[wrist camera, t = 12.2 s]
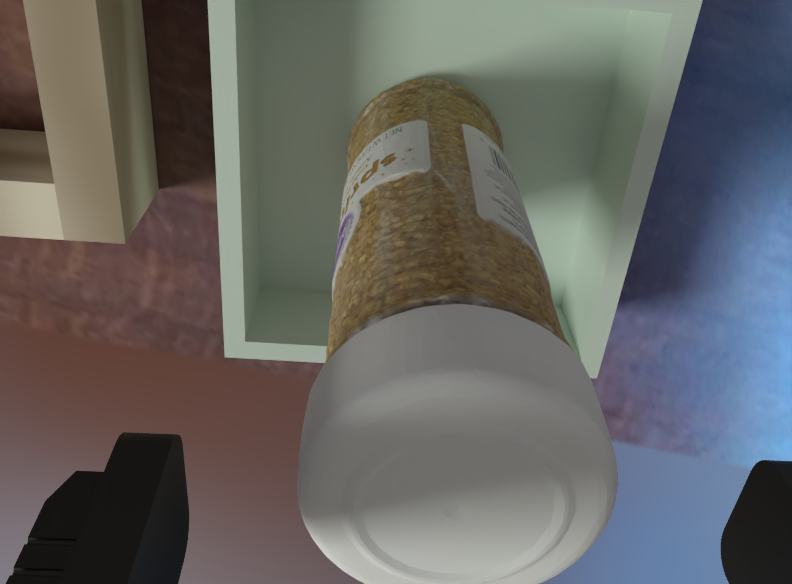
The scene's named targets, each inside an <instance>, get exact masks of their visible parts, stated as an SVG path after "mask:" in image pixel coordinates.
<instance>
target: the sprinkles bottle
mask: <svg viewBox="0 0 792 584" xmlns="http://www.w3.org/2000/svg"><path fill="white" fill-rule="evenodd" d="M503 151H504V148H503V143H502V135H501V131H500V128H499V125H498V123H497V121H496V120H495V118H494V117H493V115H492V113H491V112H490V110H489V109H488V107H487V106H486V105H485V104H484V102H483V101H481V100H480V99H479V98H477V97H476V96H475V95H474V94H472V93H471V92H469V91H468V90H467V89H466V88H464V87H462V86H458V85H455V84H453V83H451V82H447V81H444V80H442V79H437V78H422V79H414V80H409V81H405V82H402V83H401V84H399V85H395V86H393V87H391V88H389V89H387V90H384V91H383V92H381V93H380V94H379V95H378V96H376V97H375V98H373V99H372V100H371V101H370V102H369V104H368V105H367V106H366V107H365V108H364V109H363V110H362V112H361V113H360V115H359V117H358V118H357V120H356V122H355V123H354V126H353V128H352V130H351V131H350V134H349V138H348V146H347V151H346V159H347V168H348V177H347V180H346V183H345V187H344V192H343V199H342V208H341V217H340V226H339V234H338V242H337V251H336V259H335V266H334V274H333V281H332V300H333V304H332V313H331V318H330V322H329V336H328V345H327V349H326V361H325V365H324V366H323V367H322V369H321V371H320V373H319V374H318V376H317V378H316V380H315V382H314V384H313V386H312V389H311V392H310V395H309V399H308V403H307V408H306V413H305V419H304V426H303V431H302V439H301V447H300V455H299V464H298V475H297V493H298V502H299V507H300V512H301V515H302V518H303V521H304V523H305V526H306V528H307V530H308V531H309V533H310V535H311V537H312V538H313V540H314V541H315V543H316V544H317V545H318V547H319V548H320V549H321V550H322V552H323V553H324V554H325V555H326V556H327V557H328V558H329V559H330V560H331V561H332V562H333V563H334V564H336V565H337V566H338V567H339V568H340V569H342V570H343V571H344V572H346V573H347V574H349V575H351V576H352V577H354V578H355V579H357V580H359V581H361V582H363V583H365V584H540V583H542V582H544V581H547V580H548V579H550V578H552V577H554V576H555V575H558V574H559V573H561V572H562V571H563V570H565V569H566V568H568V567H569V566H570V565H572V564H573V563H574V562H576V561H577V560H578V559H579V558H580V557H581V556H582V555H583V554H584V553H585V552H586V551H588V549H589V548H590V547H591V546H592V544H593V543H594V542H595V541H596V540H597V538H598V537H599V536H600V534H601V533H602V531H603V530H604V528H605V526H606V525H607V523H608V520H609V518H610V516H611V514H612V510H613V507H614V504H615V500H616V493H617V485H618V481H617V479H618V473H617V465H616V458H615V455H614V450H613V447H612V443H611V440H610V436H609V433H608V429H607V426H606V422H605V419H604V416H603V413H602V410H601V407H600V404H599V401H598V399H597V396H596V393H595V390H594V387H593V384H592V381H591V379H590V377H589V375H588V373H587V371H586V369H585V367H584V365H583V363H582V362H581V360H580V359H579V358H578V357H577V355H576V354H575V353H574V351H573V349H572V347H571V346H570V344H569V343H568V342H567V340H566V339H565V336H564V334H563V331H562V329H561V326H560V323H559V320H558V316H557V313H556V310H555V307H554V305H553V300H552V297H551V287H550V282H549V279H548V275H547V272H546V269H545V266H544V263H543V260H542V257H541V254H540V252H539V249H538V246H537V243H536V240H535V237H534V234H533V231H532V228H531V225H530V222H529V219H528V216H527V213H526V210H525V207H524V204H523V201H522V198H521V195H520V192H519V189H518V186H517V184H516V181H515V178H514V175H513V172H512V169H511V166H510V164H509V162H508V161H507V159H506V157H505V156H504V154H503Z"/></svg>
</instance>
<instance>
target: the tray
mask: <svg viewBox="0 0 792 584" xmlns="http://www.w3.org/2000/svg"><path fill="white" fill-rule="evenodd" d="M702 1H703V0H208V20H209V41H210V61H211V82H212V103H213V123H214V144H215V165H216V185H217V206H218V227H219V247H220V268H221V288H222V309H223V330H224V350H225V357H229V358H247V359H265V360H282V361H300V362H318V363H325V361H326V349H327V345H328V336H329V322H330V318H331V313H332V304H333V300H332V281H333V274H334V266H335V259H336V251H337V242H338V234H339V226H340V217H341V208H342V199H343V192H344V187H345V183H346V180H347V177H348V168H347V159H346V151H347V146H348V138H349V134H350V131H351V130H352V128H353V126H354V123H355V122H356V120H357V118H358V117H359V115H360V113H361V112H362V110H363V109H364V108H365V107H366V106H367V105H368V104H369V102H370V101H371V100H372V99H373V98H375V97H376V96H378V95H379V94H380V93H381V92H383V91H384V90H387V89H389V88H391V87H393V86H395V85H399V84H401V83H402V82H405V81H409V80H414V79H422V78H437V79H442V80H444V81H447V82H451V83H453V84H455V85H458V86H462V87H464V88H466V89H467V90H468V91H469V92H471V93H472V94H474V95H475V96H476V97H477V98H479V99H480V100H481V101H483V102H484V104H485V105H486V106H487V107H488V109H489V110H490V112H491V113H492V115H493V117H494V118H495V120H496V121H497V123H498V125H499V128H500V131H501V135H502V143H503V148H504V151H503V154H504V156H505V157H506V159H507V161H508V162H509V164H510V166H511V169H512V172H513V175H514V178H515V181H516V184H517V186H518V189H519V192H520V195H521V198H522V201H523V204H524V207H525V210H526V213H527V216H528V219H529V222H530V225H531V228H532V231H533V234H534V237H535V240H536V243H537V246H538V249H539V252H540V254H541V257H542V260H543V263H544V266H545V269H546V272H547V275H548V279H549V282H550V287H551V297H552V300H553V305H554V307H555V310H556V313H557V316H558V320H559V323H560V326H561V329H562V331H563V334H564V336H565V339H566V340H567V342H568V343H569V344H570V346H571V347H572V349H573V351H574V353H575V354H576V355H577V357H578V358H579V359H580V360H581V362H582V363H583V365H584V367H585V369H586V371H587V373H588V375H589V377H590V378H597V376H598V373H599V369H600V365H601V362H602V358H603V355H604V351H605V348H606V344H607V340H608V337H609V333H610V330H611V326H612V323H613V319H614V315H615V312H616V308H617V305H618V301H619V298H620V294H621V290H622V287H623V283H624V280H625V276H626V273H627V269H628V265H629V262H630V258H631V255H632V251H633V248H634V244H635V240H636V237H637V233H638V230H639V226H640V223H641V219H642V215H643V212H644V208H645V205H646V201H647V198H648V194H649V190H650V187H651V183H652V180H653V176H654V173H655V169H656V165H657V162H658V158H659V155H660V151H661V148H662V144H663V140H664V137H665V133H666V130H667V126H668V123H669V119H670V115H671V112H672V108H673V105H674V101H675V98H676V94H677V90H678V87H679V83H680V80H681V76H682V73H683V69H684V65H685V62H686V58H687V55H688V51H689V48H690V44H691V40H692V37H693V33H694V30H695V26H696V23H697V19H698V15H699V12H700V8H701V5H702Z"/></svg>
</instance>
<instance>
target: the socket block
mask: <svg viewBox="0 0 792 584" xmlns="http://www.w3.org/2000/svg"><path fill="white" fill-rule="evenodd" d="M23 4H24V9H25V15H26V21H27V27H28V33H29V39H30V44H31V50H32V56H33V62H34V68H35V74H36V80H37V85H38V91H39V97H40V103H41V109H42V115H43V121H44V126H45V132H42V131H28V130H14V129H0V236H11V237H27V238H42V239H58V240H74V241H89V242H105V243H120V244H126V242H127V240H128V239H129V237H130V236H131V234H132V232H133V231H134V229H135V228H136V226H137V224H138V223H139V221H140V219H141V218H142V216H143V215H144V213H145V211H146V210H147V208H148V207H149V205H150V203H151V202H152V200H153V198H154V197H155V195H156V194H157V192H158V190H159V184H158V173H157V162H156V152H155V141H154V130H153V119H152V108H151V97H150V86H149V76H148V65H147V54H146V43H145V32H144V21H143V11H142V0H23Z"/></svg>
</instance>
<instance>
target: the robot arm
mask: <svg viewBox="0 0 792 584" xmlns="http://www.w3.org/2000/svg"><path fill="white" fill-rule="evenodd" d="M188 531H189V505H188V496H187V485H186V475H185V465H184V454H183V445H182V440H181V437H180V435H175V434H150V433H126V432H124V433H122V434H121V435H120V436H119V438H118V439H117V442H116V444H115V446H114V449H113V451H112V454H111V456H110V458H109V461H108V463H107V466H106V468H105V471H104V472H92V471H76V472H75V473H74V474H73V475H72V476H71V477H70V478H69V479H68V480H66V481H65V482H64V483H63V484H62V486H60V488H58V489H57V490H56V491H55V492H54V493H53V494H52V495H51V496H50V497H49V498H48V499H47V500H46V501H45V503H44V505H43V507H42V509H41V511H40V513H39V515H38V518H37V520H36V522H35V524H34V526H33V528H32V530H31V532H30V534H29V536H28V543H27V545H24V547H23V549H22V551H21V553H20V555H19V557H18V559H17V562H16V564H15V566H14V572H13V575H11V576H10V577H9V578H8V580H7V582H6V584H178V582H179V578H180V574H181V570H182V566H183V562H184V558H185V553H186V547H187V540H188ZM721 559H722V565H723V569H724V572H725V575H726V577H727V580H728V582H729V584H792V461H769V460H762V461H759V462H758V463H756V464H755V466H754V467H753V469H752V471H751V472H750V474H749V477H748V479H747V481H746V483H745V485H744V487H743V490H742V492H741V494H740V496H739V498H738V500H737V503H736V505H735V507H734V509H733V511H732V513H731V515H730V518H729V520H728V522H727V524H726V526H725V528H724V531H723V534H722V539H721Z"/></svg>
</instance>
